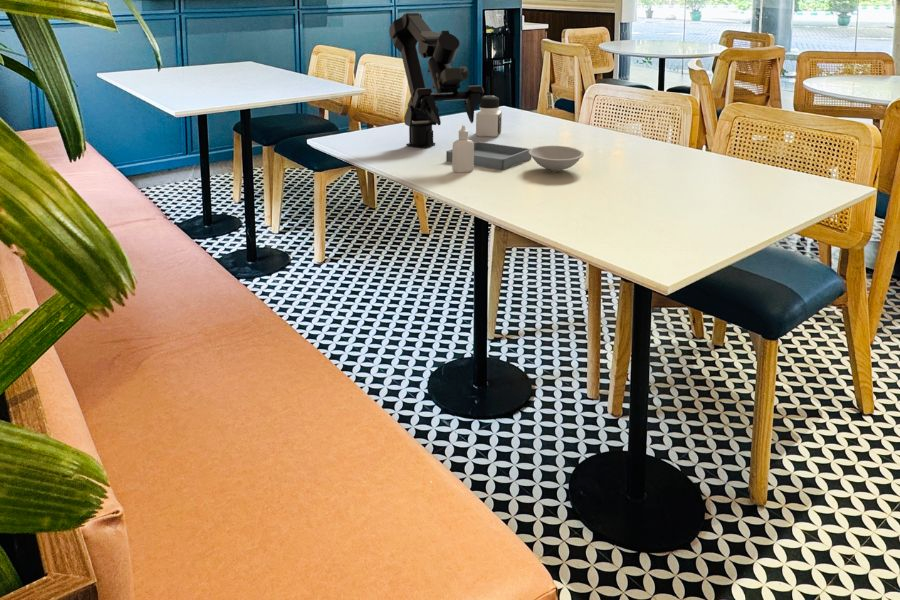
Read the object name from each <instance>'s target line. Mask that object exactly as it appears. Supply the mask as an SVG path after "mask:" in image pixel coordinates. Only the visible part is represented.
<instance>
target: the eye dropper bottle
mask: <svg viewBox="0 0 900 600" xmlns="http://www.w3.org/2000/svg"><path fill="white" fill-rule="evenodd" d="M451 150H452V162H451V164H452V166H451V167H452V168H451V169H452V171H453V172H454V173H456V174H462V173H470V172H473V171H474V141H473V140H471V139H469V130H467V129H466V126H465V124H463V125H461V129H459V130H458V139H457V140H455V141H453V143H452V149H451Z"/></svg>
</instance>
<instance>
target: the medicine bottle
mask: <svg viewBox="0 0 900 600" xmlns="http://www.w3.org/2000/svg"><path fill="white" fill-rule="evenodd" d="M502 115H503V113H502V110H500V98H499V97H497V96H495V95H483V97H482V99H481V101H480V104H479V111H478V112H477V113H476V114H475V136H476V137H484V138H485V137H486V138H487V137H489V138H490V137H492V138H498V137H499V136H500V135H501V133H502V119H503V118H502Z"/></svg>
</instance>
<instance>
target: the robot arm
mask: <svg viewBox="0 0 900 600" xmlns="http://www.w3.org/2000/svg"><path fill="white" fill-rule="evenodd" d="M422 16H423V15H422V14H421V13H419V12H406V13H403V15H402V16H401V17H399V18H397V19H395V20H394V21H392V23H391V24H390V26H389V29H388V32H389V33H388V34H389V37H390V39H391V40H392V45H393V46H394V48H396V49H397V50H398V51H399V53H400V55H401V59H402V63H403V68H404V72H405V75H406V80H407V84H408V88H409V92H410V98H409V100H408V102H407V108H406V111H405V114H404V117H403V119H404V125H406V126H407V127H408V130H409V131H408V134H409V135H408V136H409V137H408V138H409V139H408V140H409V141H408V143H406V144H405V145H406V146H407V147H412V148H421V149H425V148H429V147H431V146H435V145H436V142H434V130H433V126H437V125H438V126H441V123H442V122H441V117H440V113H439V107H438V104H437V102H440V101H443V102H450V101H452V102H453V101H463V103H464V105H465V106H464V109H465V112H466V115H467V117H468V120H469V121H470V124H473V123H474V119H475V109H476V107H477V106H478V105H479V106H480V101H481V99H482V97H483V96H485V95H484V94H485V90H484V87H482V85H479V84H478V85H467V87H466V90H465V91H458V89H460V88H461V82H463V81H466V80H467V79H468V78H469V74H470V73H469V70H468V68H467V66H466V65H461V66H459V67H451V65H450V64H451V63H453V62H454V59H455V57H456V55H457V52H458V49H459V46H460V40H459V39H458V38H457V37H456V36H455V35H454V34H452V33H450V31H449V30H441V31H440V33H439V32H436V31H433V30H432V29H431V27H429V25H428V24H427V22H425V20H424V19H423V17H422ZM417 43H418V44H417ZM417 45H418V47H417ZM417 49H418V50H417ZM418 53H419V54H420V56H421V57H422V59H429V60H428V61H427V73H430V76H431V80H432V84H431V86H432V87H431V88H430V87H426V84H425V83H426V82H425V80H424V76H423V75H424V74H423V72H422V67H421V64H420V63H421V62H420V57H419V55H418ZM432 89H434V90H435V92H433V90H432Z"/></svg>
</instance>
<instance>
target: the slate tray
mask: <svg viewBox="0 0 900 600" xmlns="http://www.w3.org/2000/svg"><path fill="white" fill-rule="evenodd" d="M473 143H474V166H475V167H481V168H487V169H494V170H501V171H504V170H507V169H509V168H512V167H514V166H516V165H519V164H522V163H524V162H527V161H529V160H532V159H533V158H532V156H531V155H530V154H529V150H530V149H531V148H527V147H519V146H513V145H505V144H498V143H492V142H491V143H490V142H483V141H475V142H474V141H473ZM445 157H446V158H445V159H446V160H445V162H448V163H452V149H449V150H446V155H445Z"/></svg>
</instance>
